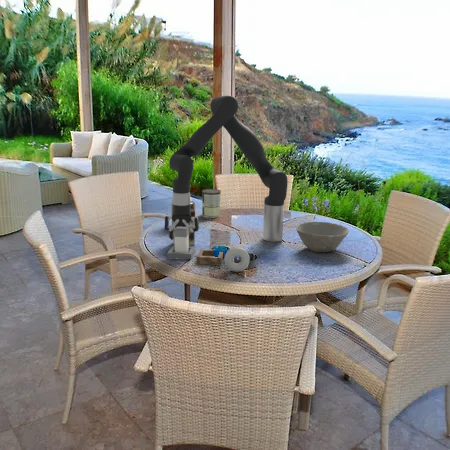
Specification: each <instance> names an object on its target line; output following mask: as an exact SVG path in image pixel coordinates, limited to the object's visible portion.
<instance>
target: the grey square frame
mask: <svg viewBox="0 0 450 450" xmlns="http://www.w3.org/2000/svg"><path fill="white" fill-rule="evenodd" d="M194 253H195V254H196V246H189V253H181V252H175V245H172V246H171V247H170V249H169V250H168V252H167V259H168V258H178V259H177V260H184V259H191V260H193V257H194V256H195V254H194ZM193 255H194V256H193Z"/></svg>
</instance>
